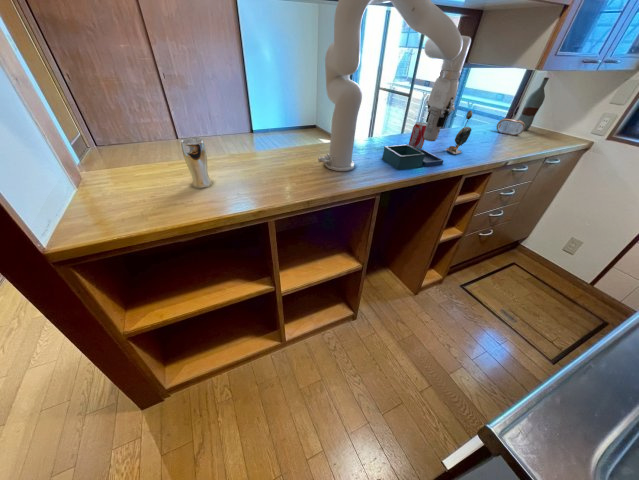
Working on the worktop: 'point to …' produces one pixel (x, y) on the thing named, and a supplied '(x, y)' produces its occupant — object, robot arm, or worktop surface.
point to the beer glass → (196, 161)
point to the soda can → (417, 135)
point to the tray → (431, 159)
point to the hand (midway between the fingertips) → (434, 124)
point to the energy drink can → (432, 125)
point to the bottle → (533, 105)
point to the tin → (510, 126)
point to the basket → (403, 156)
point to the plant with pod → (461, 136)
